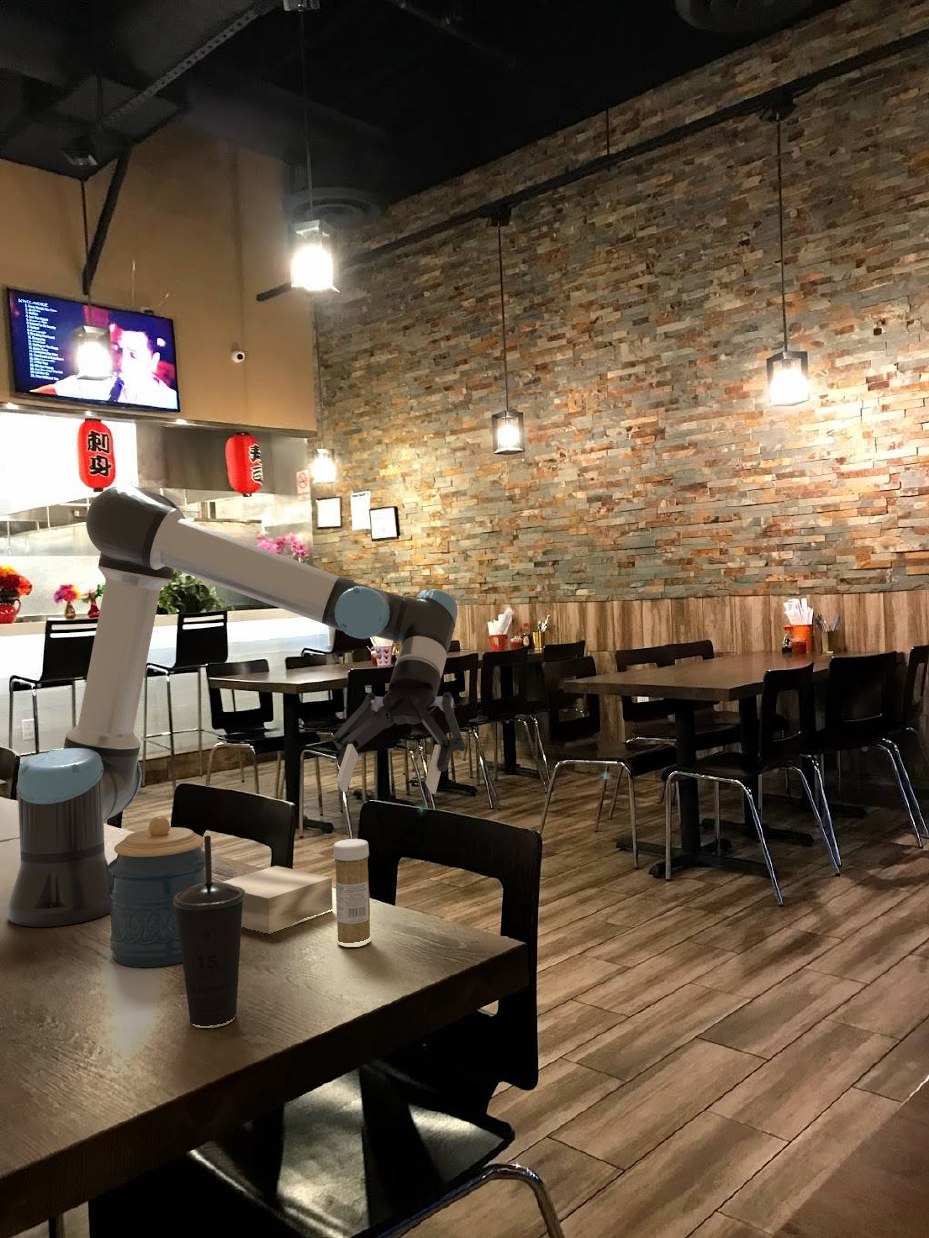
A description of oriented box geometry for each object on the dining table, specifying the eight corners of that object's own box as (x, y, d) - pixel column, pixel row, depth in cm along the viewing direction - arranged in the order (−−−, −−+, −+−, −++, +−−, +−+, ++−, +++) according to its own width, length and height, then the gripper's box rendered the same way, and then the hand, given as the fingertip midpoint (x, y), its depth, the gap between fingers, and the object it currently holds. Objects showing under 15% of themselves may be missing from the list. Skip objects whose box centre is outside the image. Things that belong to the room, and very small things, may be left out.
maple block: (269, 934, 134) (268, 898, 134) (213, 919, 142) (212, 884, 142) (332, 911, 144) (331, 877, 144) (276, 898, 151) (276, 865, 151)
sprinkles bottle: (371, 936, 133) (369, 837, 132) (370, 948, 128) (367, 845, 128) (337, 938, 132) (334, 838, 132) (335, 950, 128) (332, 846, 128)
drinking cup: (173, 1012, 110) (168, 832, 109) (243, 1000, 112) (238, 825, 112) (179, 1040, 102) (173, 848, 102) (253, 1027, 105) (248, 840, 105)
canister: (235, 944, 131) (231, 812, 131) (154, 977, 120) (150, 832, 120) (170, 928, 138) (166, 803, 138) (89, 957, 128) (84, 821, 127)
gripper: (500, 687, 153) (475, 804, 139) (352, 689, 160) (314, 800, 146) (489, 655, 148) (462, 773, 134) (336, 658, 155) (296, 770, 141)
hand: (385, 787), depth 140 cm, fingers open, 13 cm apart
